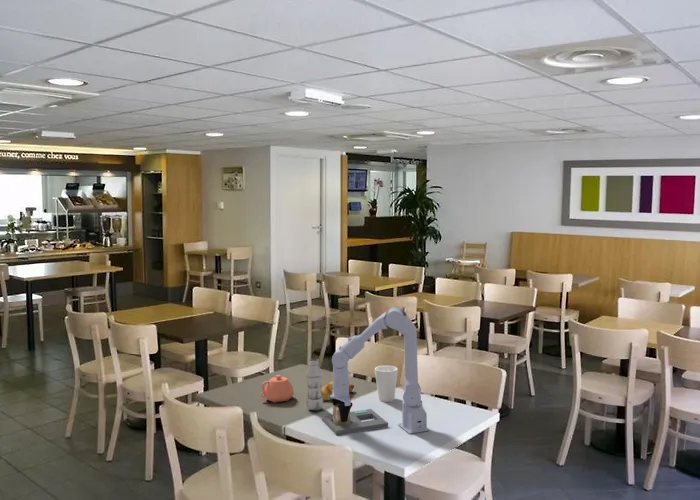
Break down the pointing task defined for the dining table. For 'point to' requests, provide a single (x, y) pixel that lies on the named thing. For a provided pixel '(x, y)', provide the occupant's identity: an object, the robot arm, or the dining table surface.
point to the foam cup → (386, 382)
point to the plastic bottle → (314, 385)
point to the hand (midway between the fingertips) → (341, 418)
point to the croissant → (328, 390)
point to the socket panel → (356, 422)
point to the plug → (337, 417)
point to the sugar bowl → (277, 389)
